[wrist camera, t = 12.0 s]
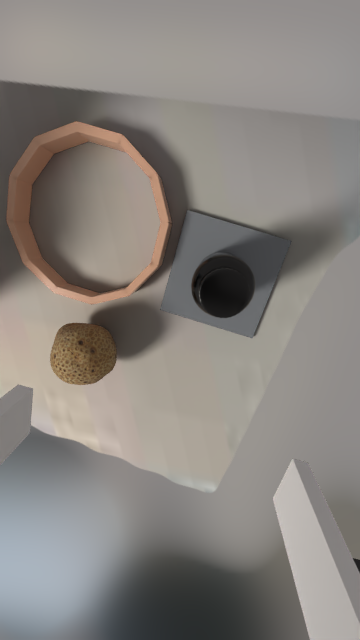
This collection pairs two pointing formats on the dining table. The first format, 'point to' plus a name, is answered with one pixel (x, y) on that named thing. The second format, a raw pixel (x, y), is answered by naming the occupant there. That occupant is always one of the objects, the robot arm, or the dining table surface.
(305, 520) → the robot arm
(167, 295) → the mat
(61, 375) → the natural sponge
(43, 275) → the pink polygonal hoop
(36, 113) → the dining table surface
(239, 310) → the supplement bottle
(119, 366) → the dining table surface
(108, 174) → the dining table surface
